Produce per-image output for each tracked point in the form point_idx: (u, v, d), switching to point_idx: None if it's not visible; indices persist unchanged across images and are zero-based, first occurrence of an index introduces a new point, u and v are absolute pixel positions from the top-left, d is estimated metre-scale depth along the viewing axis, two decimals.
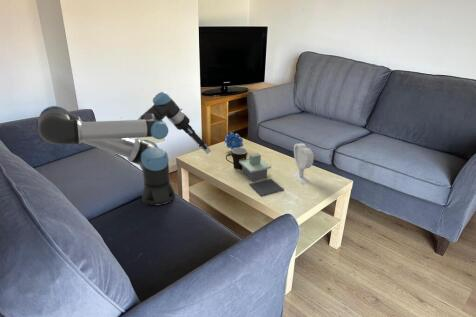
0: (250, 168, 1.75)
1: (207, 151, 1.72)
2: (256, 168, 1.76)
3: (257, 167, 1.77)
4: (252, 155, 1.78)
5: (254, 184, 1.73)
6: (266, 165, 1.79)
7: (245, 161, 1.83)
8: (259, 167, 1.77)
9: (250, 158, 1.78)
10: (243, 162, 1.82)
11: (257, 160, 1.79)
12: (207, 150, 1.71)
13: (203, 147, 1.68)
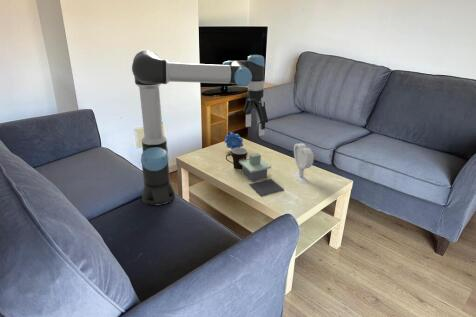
0: (250, 168, 1.75)
1: (261, 133, 1.66)
2: (256, 168, 1.76)
3: (257, 167, 1.77)
4: (252, 155, 1.78)
5: (254, 184, 1.73)
6: (266, 165, 1.79)
7: (245, 161, 1.83)
8: (259, 167, 1.77)
9: (250, 158, 1.78)
10: (243, 162, 1.82)
11: (257, 160, 1.79)
12: (262, 132, 1.66)
13: (262, 126, 1.64)
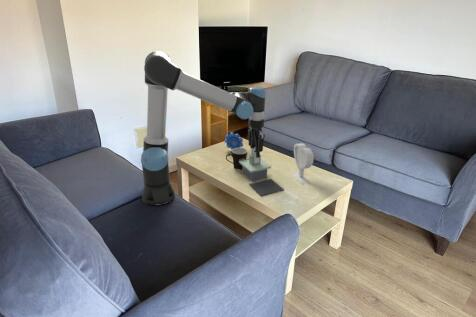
0: (250, 168, 1.75)
1: (256, 160, 1.77)
2: (256, 168, 1.76)
3: (257, 167, 1.77)
4: (252, 155, 1.78)
5: (254, 184, 1.73)
6: (266, 165, 1.79)
7: (245, 161, 1.83)
8: (259, 167, 1.77)
9: (250, 158, 1.78)
10: (243, 162, 1.82)
11: None
12: (257, 159, 1.77)
13: (257, 154, 1.75)
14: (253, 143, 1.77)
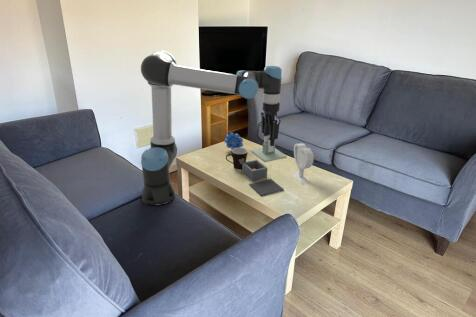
0: (264, 157, 1.59)
1: (270, 149, 1.61)
2: (270, 157, 1.59)
3: (271, 156, 1.60)
4: (266, 143, 1.61)
5: (254, 184, 1.73)
6: (281, 154, 1.62)
7: (258, 150, 1.66)
8: (274, 156, 1.60)
9: (263, 147, 1.62)
10: (255, 151, 1.65)
11: None
12: (271, 148, 1.61)
13: (272, 142, 1.58)
14: (267, 130, 1.60)
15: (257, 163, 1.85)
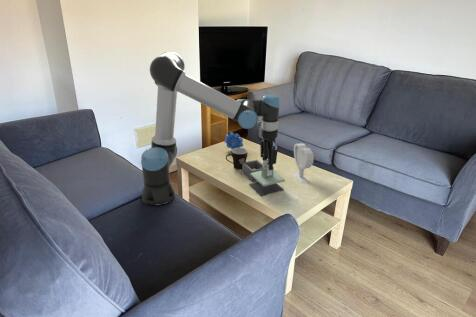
0: (262, 181, 1.64)
1: (269, 173, 1.66)
2: (269, 181, 1.64)
3: (270, 180, 1.66)
4: (264, 167, 1.66)
5: (254, 184, 1.73)
6: (279, 178, 1.67)
7: (257, 173, 1.71)
8: (272, 180, 1.65)
9: (262, 170, 1.67)
10: (254, 174, 1.70)
11: None
12: (269, 172, 1.66)
13: (270, 167, 1.63)
14: (265, 154, 1.66)
15: (257, 163, 1.85)
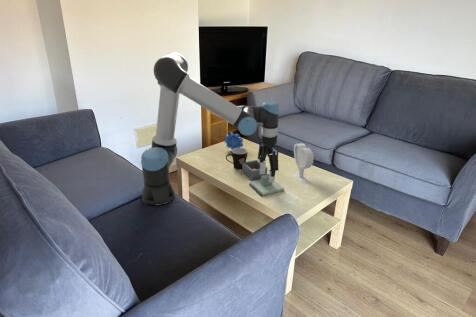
0: (262, 190, 1.66)
1: (271, 179, 1.65)
2: (268, 190, 1.66)
3: (269, 188, 1.68)
4: (264, 176, 1.69)
5: None
6: (278, 186, 1.70)
7: (256, 182, 1.73)
8: (271, 189, 1.67)
9: (262, 179, 1.69)
10: (254, 183, 1.72)
11: (269, 182, 1.70)
12: (272, 178, 1.65)
13: (272, 173, 1.62)
14: (263, 158, 1.69)
15: (257, 163, 1.85)
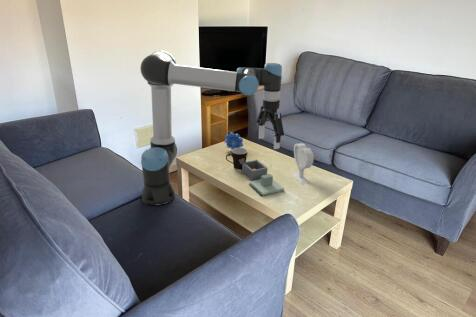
0: (262, 190, 1.66)
1: (276, 146, 1.55)
2: (268, 190, 1.66)
3: (269, 188, 1.68)
4: (264, 176, 1.69)
5: None
6: (278, 186, 1.70)
7: (256, 182, 1.73)
8: (271, 189, 1.67)
9: (262, 179, 1.69)
10: (254, 183, 1.72)
11: (269, 182, 1.70)
12: (277, 145, 1.55)
13: (278, 139, 1.52)
14: (262, 122, 1.62)
15: (257, 163, 1.85)
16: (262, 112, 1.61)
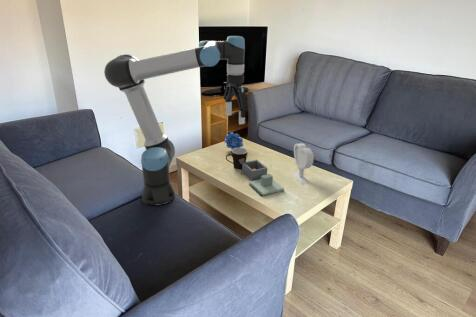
0: (262, 190, 1.66)
1: (241, 121, 1.53)
2: (268, 190, 1.66)
3: (269, 188, 1.68)
4: (264, 176, 1.69)
5: None
6: (278, 186, 1.70)
7: (256, 182, 1.73)
8: (271, 189, 1.67)
9: (262, 179, 1.69)
10: (254, 183, 1.72)
11: (269, 182, 1.70)
12: (242, 120, 1.53)
13: (242, 113, 1.50)
14: (229, 98, 1.61)
15: (257, 163, 1.85)
16: (228, 88, 1.59)
